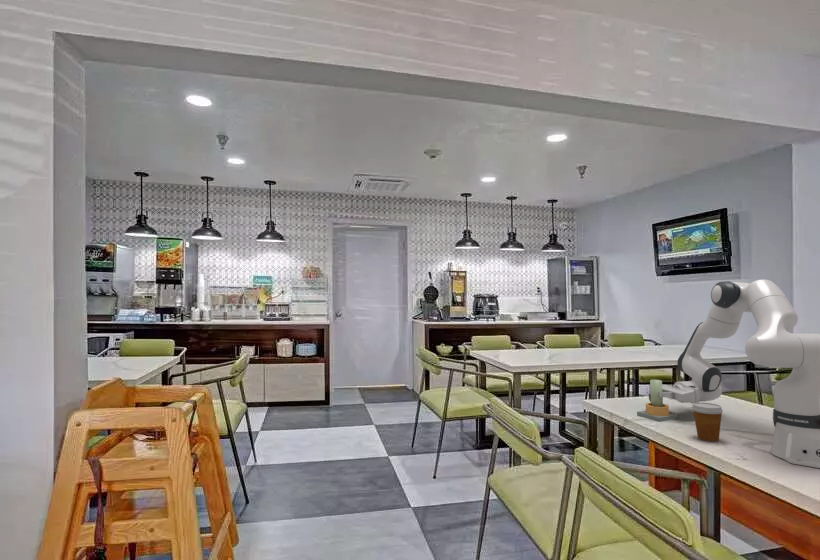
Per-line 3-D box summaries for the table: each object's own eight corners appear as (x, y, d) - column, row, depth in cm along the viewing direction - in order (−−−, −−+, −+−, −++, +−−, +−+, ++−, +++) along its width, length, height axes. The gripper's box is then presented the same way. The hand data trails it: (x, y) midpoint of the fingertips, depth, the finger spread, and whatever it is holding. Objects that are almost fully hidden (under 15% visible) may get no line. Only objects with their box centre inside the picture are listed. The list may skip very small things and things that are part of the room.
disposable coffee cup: (697, 441, 157) (696, 407, 158) (689, 434, 166) (687, 401, 167) (728, 444, 154) (727, 409, 155) (718, 435, 163) (717, 402, 164)
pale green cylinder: (664, 408, 190) (663, 380, 191) (660, 410, 187) (659, 381, 188) (653, 407, 193) (652, 379, 194) (649, 408, 191) (648, 380, 191)
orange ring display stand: (678, 418, 187) (678, 406, 187) (659, 421, 183) (658, 409, 183) (656, 412, 197) (655, 401, 197) (637, 415, 193) (636, 403, 194)
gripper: (665, 380, 203) (638, 381, 201) (701, 389, 183) (671, 390, 181) (666, 394, 203) (638, 395, 201) (702, 404, 183) (672, 406, 180)
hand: (654, 393), depth 190 cm, fingers closed on pale green cylinder, 4 cm apart
